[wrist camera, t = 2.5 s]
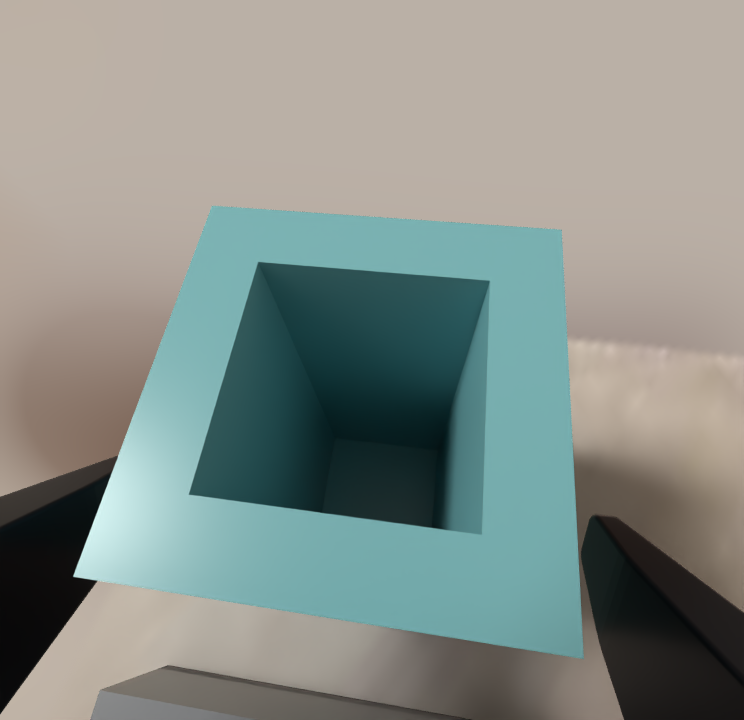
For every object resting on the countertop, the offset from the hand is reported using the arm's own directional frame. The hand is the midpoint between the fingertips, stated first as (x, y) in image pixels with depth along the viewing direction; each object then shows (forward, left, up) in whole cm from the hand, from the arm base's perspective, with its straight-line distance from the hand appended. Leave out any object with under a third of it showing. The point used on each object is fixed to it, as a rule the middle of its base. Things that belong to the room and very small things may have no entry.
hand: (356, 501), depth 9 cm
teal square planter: (+1, -1, -9) cm, 9 cm away
